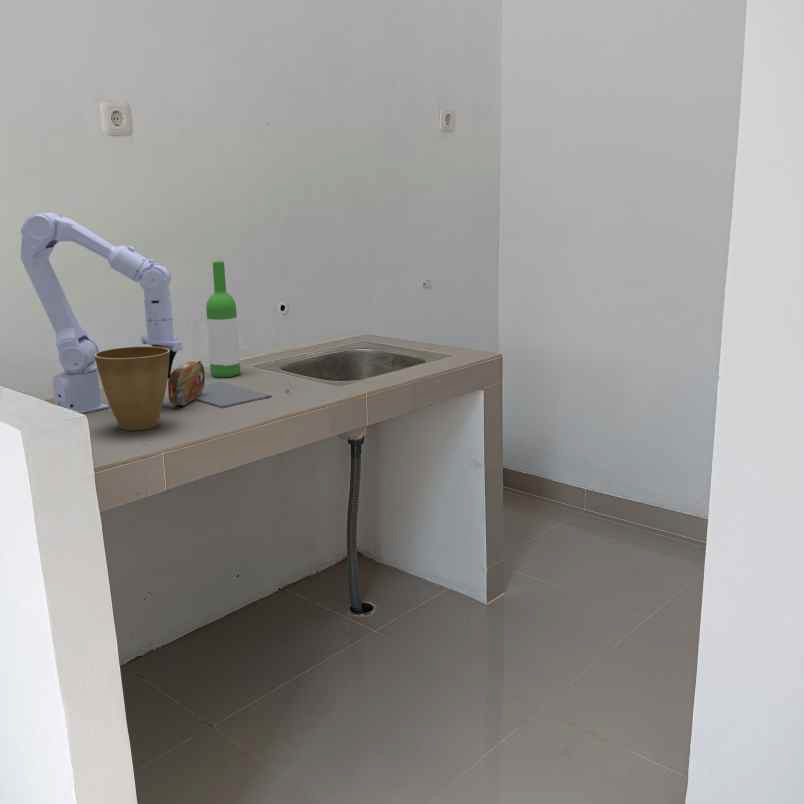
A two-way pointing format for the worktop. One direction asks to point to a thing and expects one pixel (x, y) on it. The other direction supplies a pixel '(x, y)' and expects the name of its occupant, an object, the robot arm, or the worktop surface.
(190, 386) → the tin
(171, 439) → the worktop surface
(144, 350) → the plant pot
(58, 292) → the robot arm
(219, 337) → the wine bottle
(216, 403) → the mat
